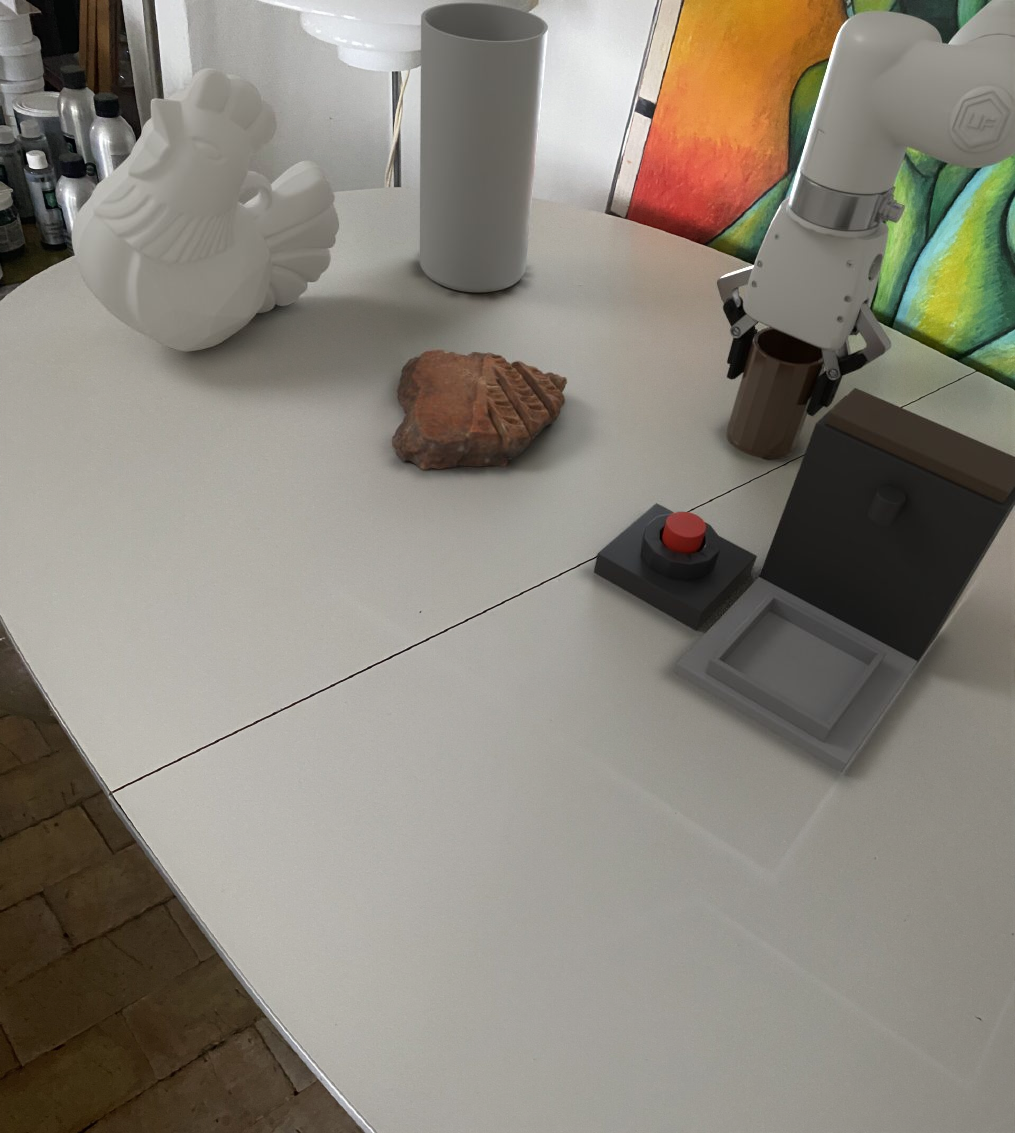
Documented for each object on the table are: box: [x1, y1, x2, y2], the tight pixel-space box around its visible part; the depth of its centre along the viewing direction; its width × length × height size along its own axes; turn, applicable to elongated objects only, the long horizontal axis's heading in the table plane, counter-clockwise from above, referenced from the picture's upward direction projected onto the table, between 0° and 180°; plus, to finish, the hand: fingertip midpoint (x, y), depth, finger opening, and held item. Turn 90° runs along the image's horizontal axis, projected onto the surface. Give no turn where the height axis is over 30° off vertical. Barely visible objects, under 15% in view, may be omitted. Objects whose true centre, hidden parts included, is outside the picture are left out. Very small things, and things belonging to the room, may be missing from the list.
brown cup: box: [725, 327, 825, 460], centre depth 90 cm, size 7×7×10 cm
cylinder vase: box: [419, 2, 549, 293], centre depth 103 cm, size 12×12×25 cm
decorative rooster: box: [71, 67, 340, 352], centre depth 92 cm, size 25×16×25 cm
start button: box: [662, 511, 706, 554], centre depth 76 cm, size 3×3×2 cm
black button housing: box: [593, 502, 758, 632], centre depth 78 cm, size 10×9×4 cm
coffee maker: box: [674, 387, 1015, 773], centre depth 68 cm, size 14×18×17 cm
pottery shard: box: [391, 349, 568, 471], centre depth 91 cm, size 16×16×4 cm
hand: (776, 390), depth 90 cm, fingers open, 7 cm apart
